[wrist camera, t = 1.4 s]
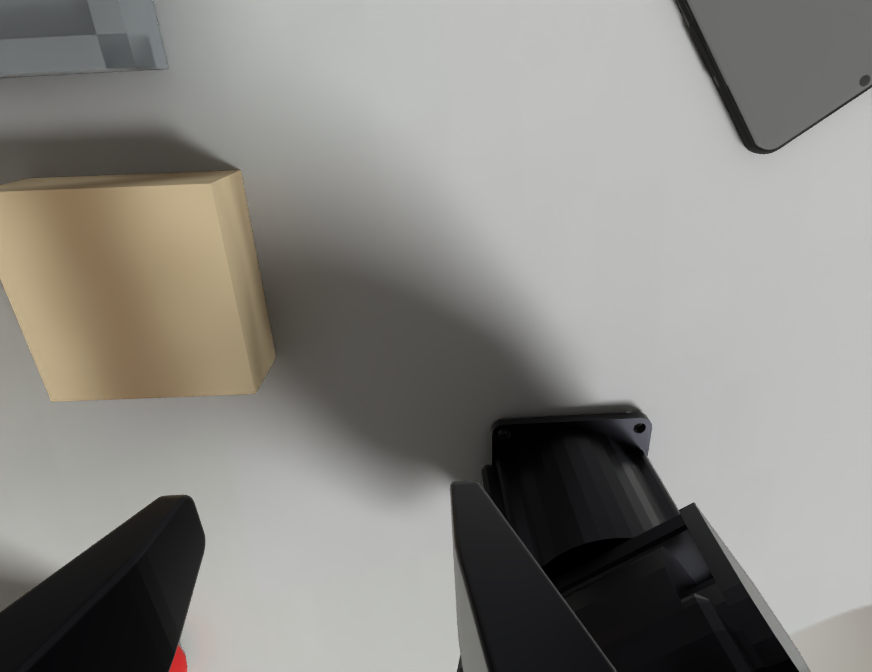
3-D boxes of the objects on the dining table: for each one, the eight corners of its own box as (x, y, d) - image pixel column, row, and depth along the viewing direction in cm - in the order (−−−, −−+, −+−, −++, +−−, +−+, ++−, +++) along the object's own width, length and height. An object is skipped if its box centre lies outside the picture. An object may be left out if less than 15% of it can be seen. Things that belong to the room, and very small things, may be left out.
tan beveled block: (243, 168, 18) (210, 183, 15) (278, 353, 21) (255, 393, 18) (35, 176, 18) (-36, 193, 15) (100, 360, 21) (51, 401, 18)
